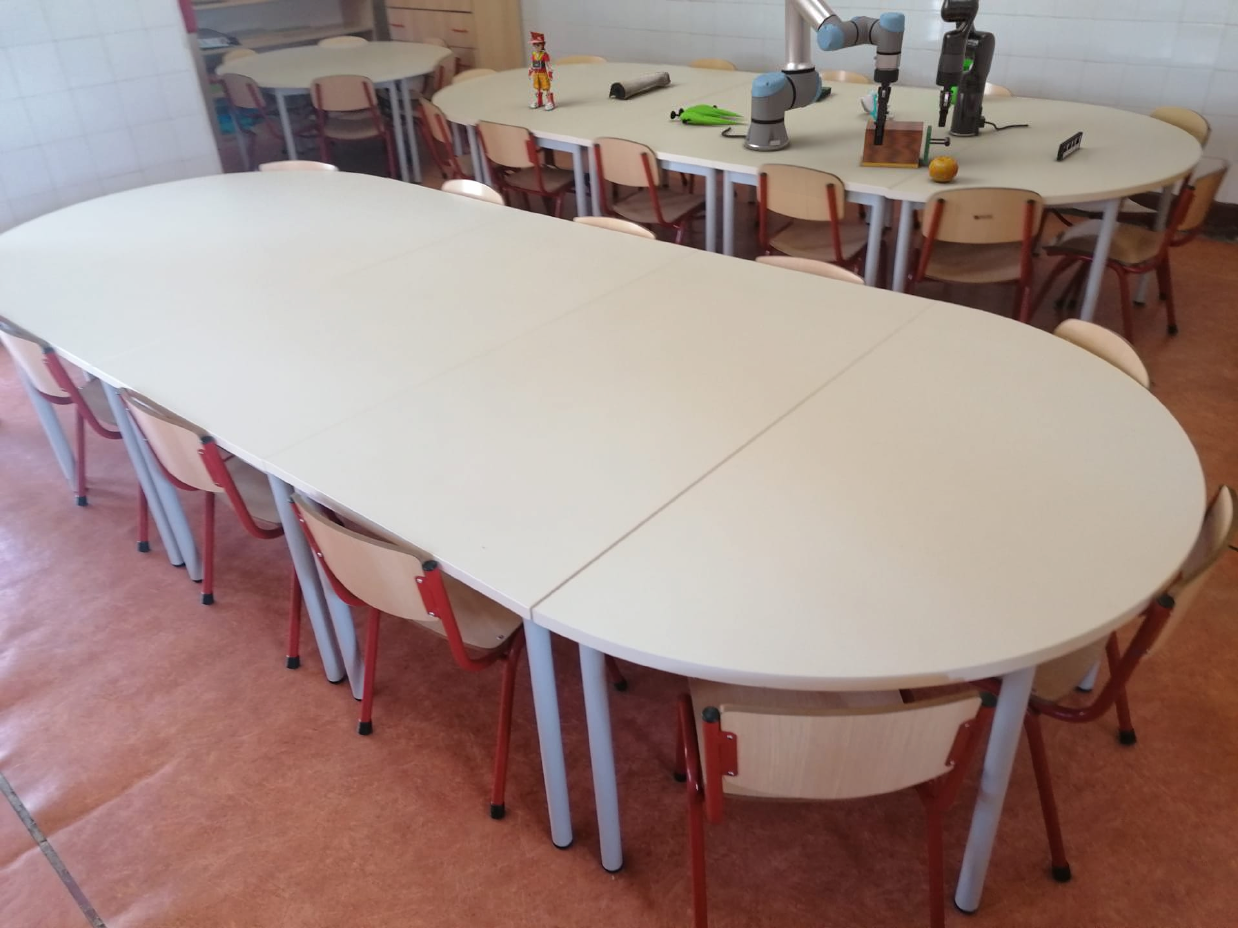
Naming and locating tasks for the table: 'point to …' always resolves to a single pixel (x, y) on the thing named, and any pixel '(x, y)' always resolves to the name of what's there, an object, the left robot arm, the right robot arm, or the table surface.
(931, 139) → the drawer
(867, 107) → the anatomical model
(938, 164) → the fruit
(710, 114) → the toy
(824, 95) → the disk drive
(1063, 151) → the midi keyboard
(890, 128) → the cabinet
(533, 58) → the toy
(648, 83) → the rolled mat
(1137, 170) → the table surface
